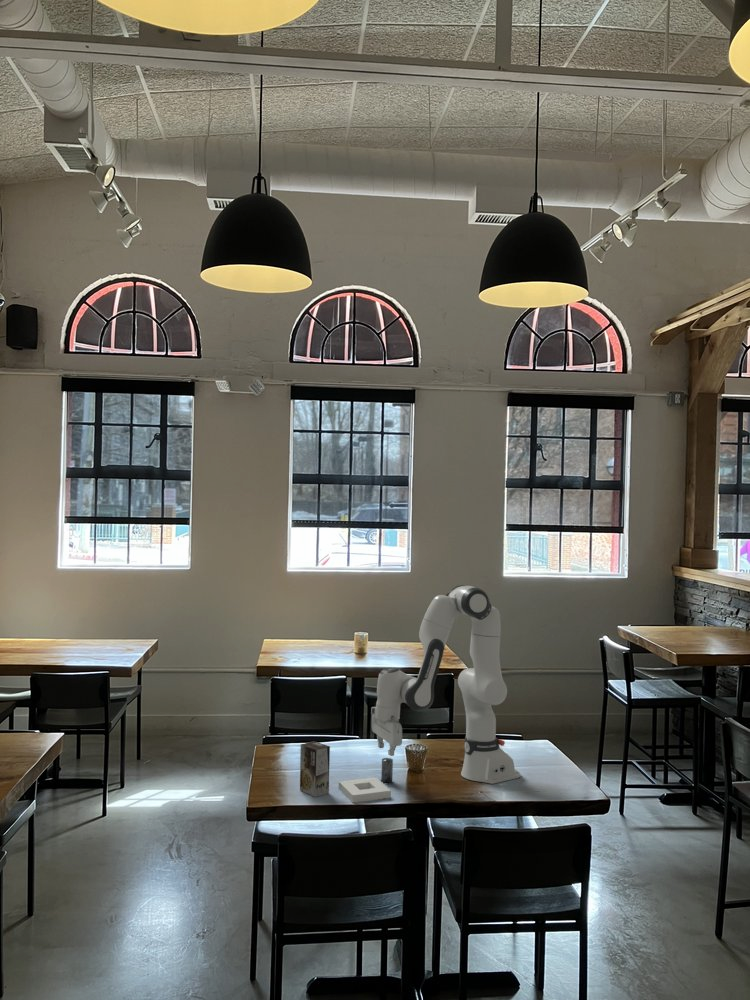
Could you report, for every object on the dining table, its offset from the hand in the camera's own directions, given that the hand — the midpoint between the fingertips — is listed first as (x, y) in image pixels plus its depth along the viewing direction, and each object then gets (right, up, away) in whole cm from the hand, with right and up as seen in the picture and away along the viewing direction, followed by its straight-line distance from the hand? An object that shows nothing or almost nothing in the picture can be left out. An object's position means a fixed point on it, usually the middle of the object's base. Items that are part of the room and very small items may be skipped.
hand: (385, 751), depth 272 cm
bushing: (0, -11, 0) cm, 11 cm away
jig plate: (-8, -10, -12) cm, 18 cm away
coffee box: (-25, -10, -12) cm, 30 cm away
